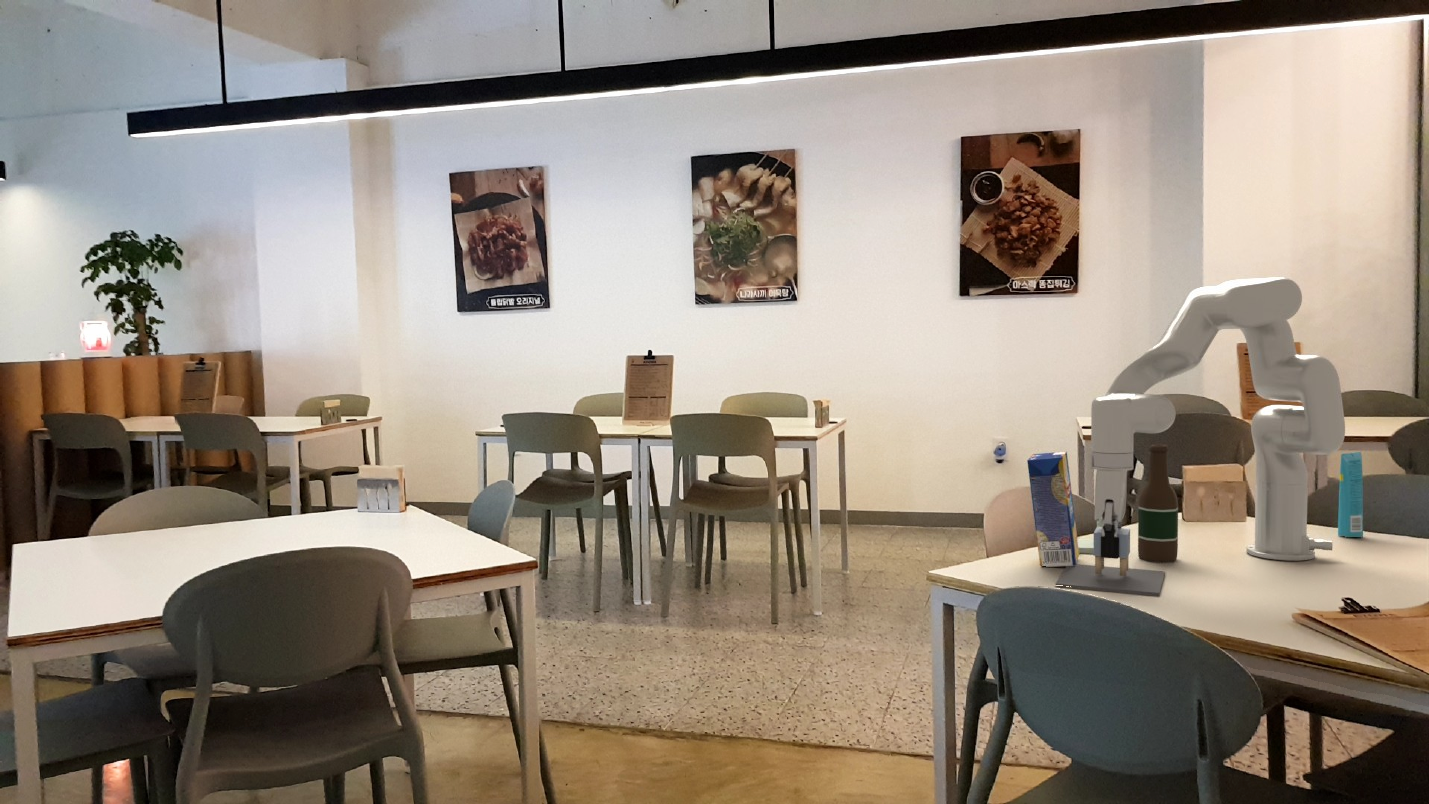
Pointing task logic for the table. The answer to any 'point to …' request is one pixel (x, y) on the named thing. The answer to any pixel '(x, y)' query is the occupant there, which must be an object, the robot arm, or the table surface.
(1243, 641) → the table surface
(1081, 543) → the mint twin-peg base
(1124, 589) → the charcoal mat
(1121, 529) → the slate-blue stool
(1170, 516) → the beer bottle
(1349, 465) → the teal carton
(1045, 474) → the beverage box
